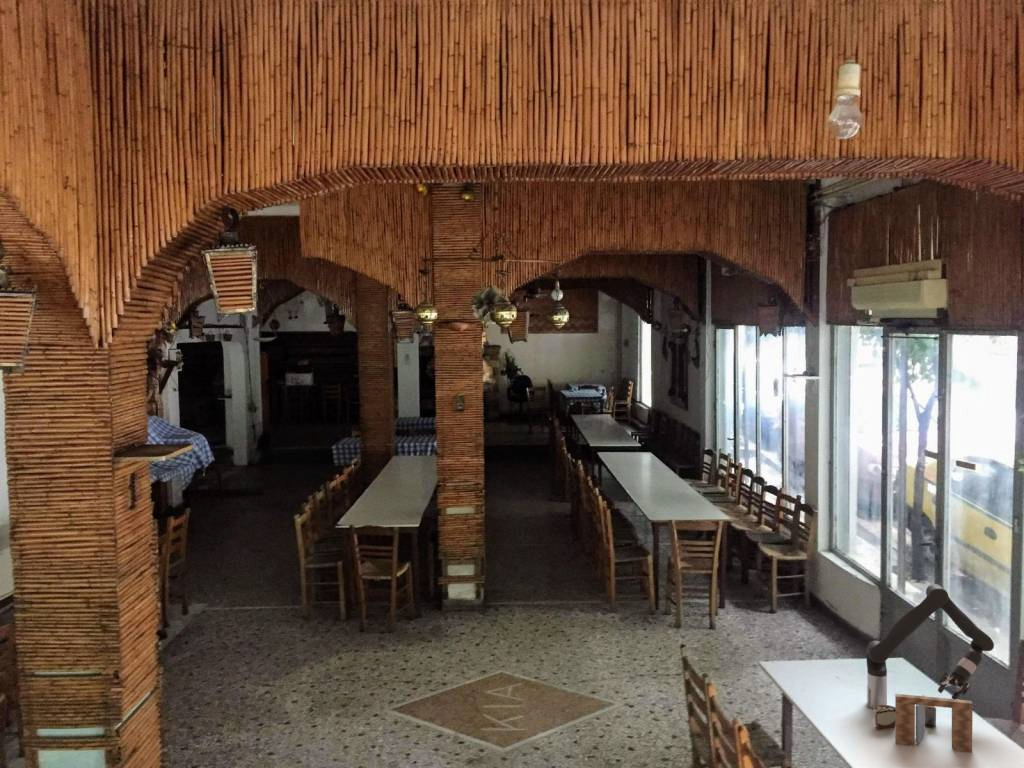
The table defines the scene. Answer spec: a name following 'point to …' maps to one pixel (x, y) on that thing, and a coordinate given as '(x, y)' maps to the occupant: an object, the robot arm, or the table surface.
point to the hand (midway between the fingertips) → (946, 695)
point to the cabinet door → (920, 722)
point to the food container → (884, 717)
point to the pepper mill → (930, 716)
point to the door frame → (960, 708)
